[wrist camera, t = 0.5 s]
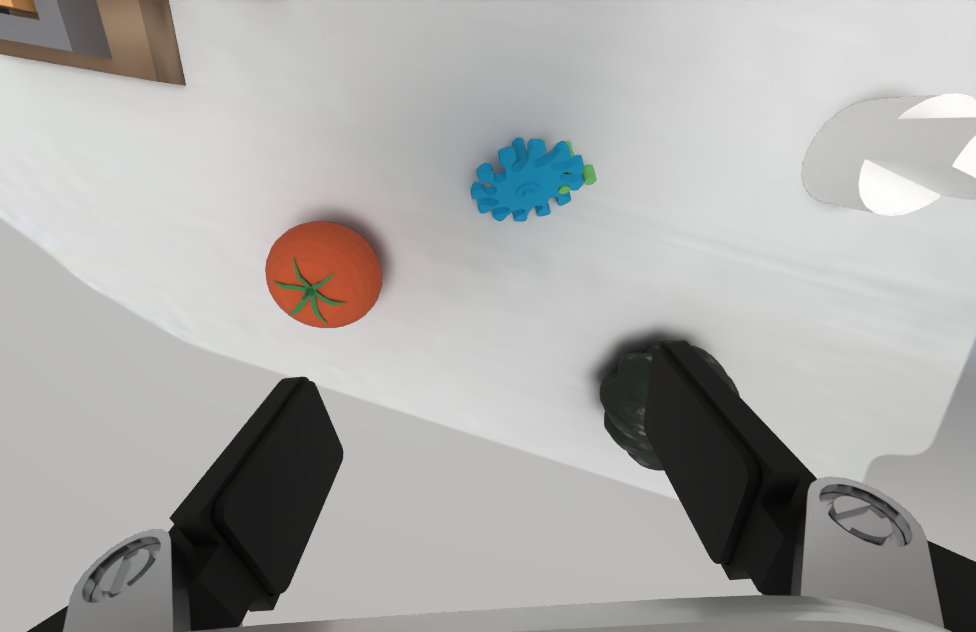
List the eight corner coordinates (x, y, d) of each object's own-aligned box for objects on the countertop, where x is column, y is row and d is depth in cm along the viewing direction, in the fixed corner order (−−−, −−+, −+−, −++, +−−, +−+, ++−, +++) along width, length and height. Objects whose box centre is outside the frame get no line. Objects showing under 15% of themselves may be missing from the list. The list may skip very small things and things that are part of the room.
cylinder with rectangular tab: (928, 121, 33) (1142, 118, 22) (851, 215, 37) (1001, 251, 26) (852, 82, 31) (1042, 58, 21) (781, 184, 35) (909, 209, 24)
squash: (612, 473, 47) (744, 532, 34) (558, 395, 41) (692, 431, 29) (659, 392, 52) (787, 417, 40) (618, 315, 47) (750, 316, 34)
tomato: (275, 254, 38) (211, 292, 29) (336, 189, 35) (287, 211, 26) (350, 318, 42) (313, 370, 33) (411, 265, 39) (390, 306, 30)
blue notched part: (471, 231, 35) (473, 159, 26) (464, 182, 37) (463, 96, 28) (578, 221, 36) (618, 147, 27) (566, 173, 38) (600, 88, 29)
